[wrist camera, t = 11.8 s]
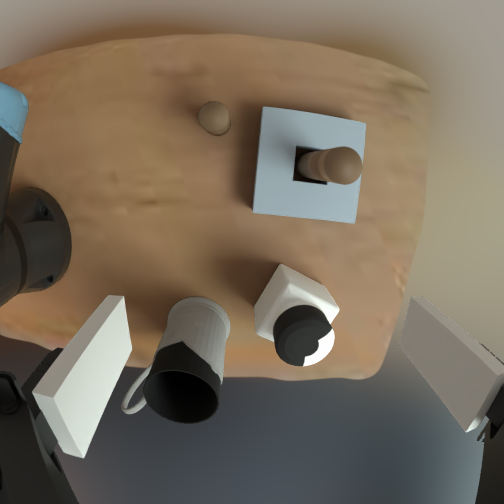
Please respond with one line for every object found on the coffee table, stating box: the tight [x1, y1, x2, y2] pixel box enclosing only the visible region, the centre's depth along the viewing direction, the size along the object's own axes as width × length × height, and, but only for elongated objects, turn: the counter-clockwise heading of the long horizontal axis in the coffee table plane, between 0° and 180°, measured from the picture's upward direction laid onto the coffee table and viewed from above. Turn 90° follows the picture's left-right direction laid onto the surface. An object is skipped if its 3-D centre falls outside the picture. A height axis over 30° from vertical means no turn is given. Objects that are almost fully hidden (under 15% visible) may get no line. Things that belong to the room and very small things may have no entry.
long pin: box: [295, 146, 363, 185], centre depth 29 cm, size 3×3×14 cm
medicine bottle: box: [254, 264, 339, 366], centre depth 34 cm, size 7×7×12 cm
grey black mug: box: [121, 297, 230, 424], centre depth 34 cm, size 9×14×15 cm, turn 122°
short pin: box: [198, 101, 231, 136], centre depth 31 cm, size 3×3×6 cm
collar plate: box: [252, 106, 366, 224], centre depth 34 cm, size 12×12×3 cm
